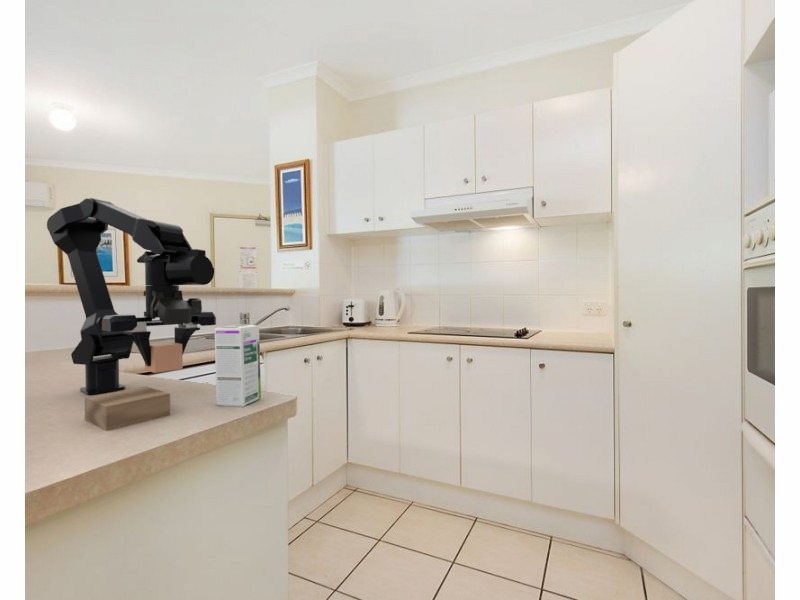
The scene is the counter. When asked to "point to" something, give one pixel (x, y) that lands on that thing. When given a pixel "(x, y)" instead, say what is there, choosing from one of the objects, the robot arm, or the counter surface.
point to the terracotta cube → (165, 357)
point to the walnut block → (126, 407)
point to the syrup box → (237, 365)
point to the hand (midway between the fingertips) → (163, 364)
